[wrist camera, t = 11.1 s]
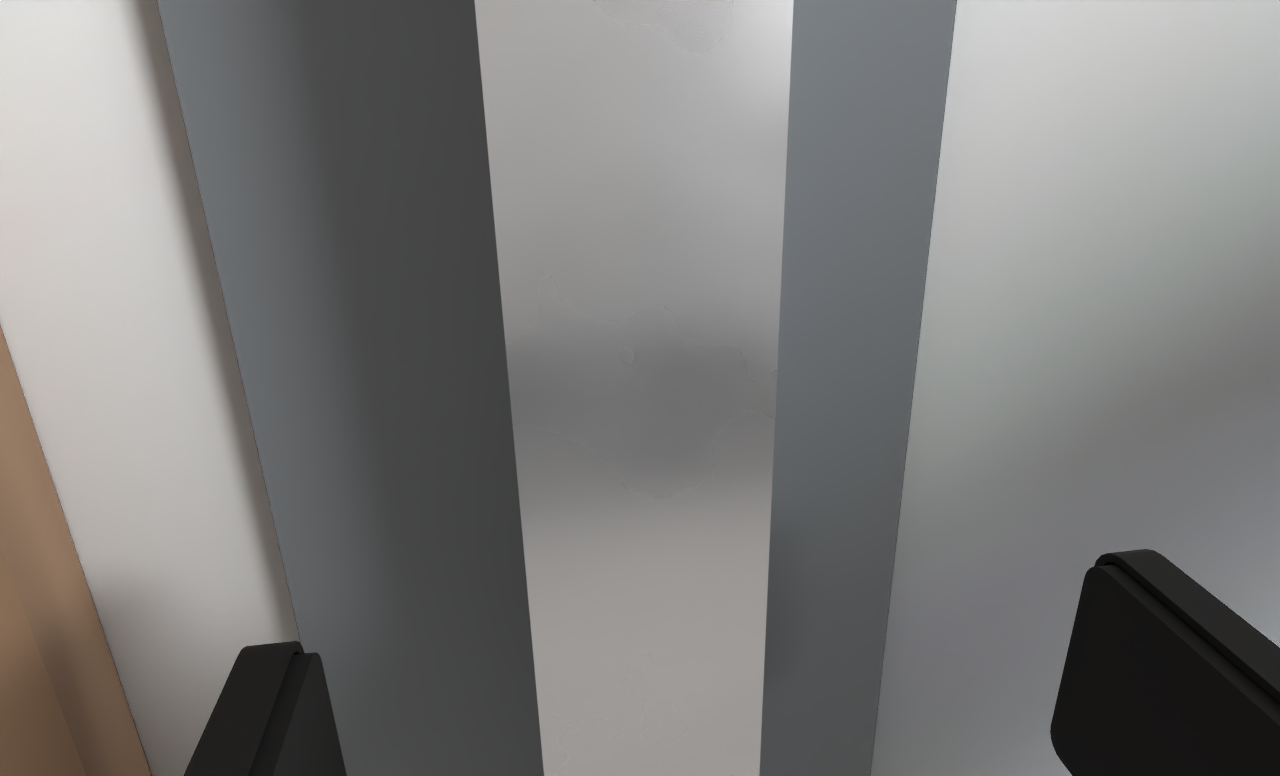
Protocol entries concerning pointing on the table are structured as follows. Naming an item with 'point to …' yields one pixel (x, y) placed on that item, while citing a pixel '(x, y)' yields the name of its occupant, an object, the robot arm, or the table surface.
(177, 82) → the rubber mat
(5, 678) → the walnut rail stand
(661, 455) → the steel rail
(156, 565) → the table surface
